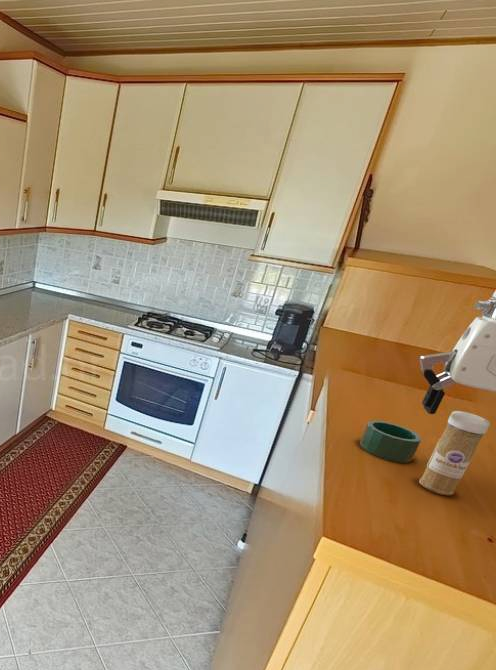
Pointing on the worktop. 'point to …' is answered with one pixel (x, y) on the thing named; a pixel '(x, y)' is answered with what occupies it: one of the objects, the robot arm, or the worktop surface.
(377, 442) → the holder
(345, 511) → the worktop surface
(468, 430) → the sprinkles bottle
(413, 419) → the worktop surface
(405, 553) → the worktop surface
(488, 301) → the robot arm
